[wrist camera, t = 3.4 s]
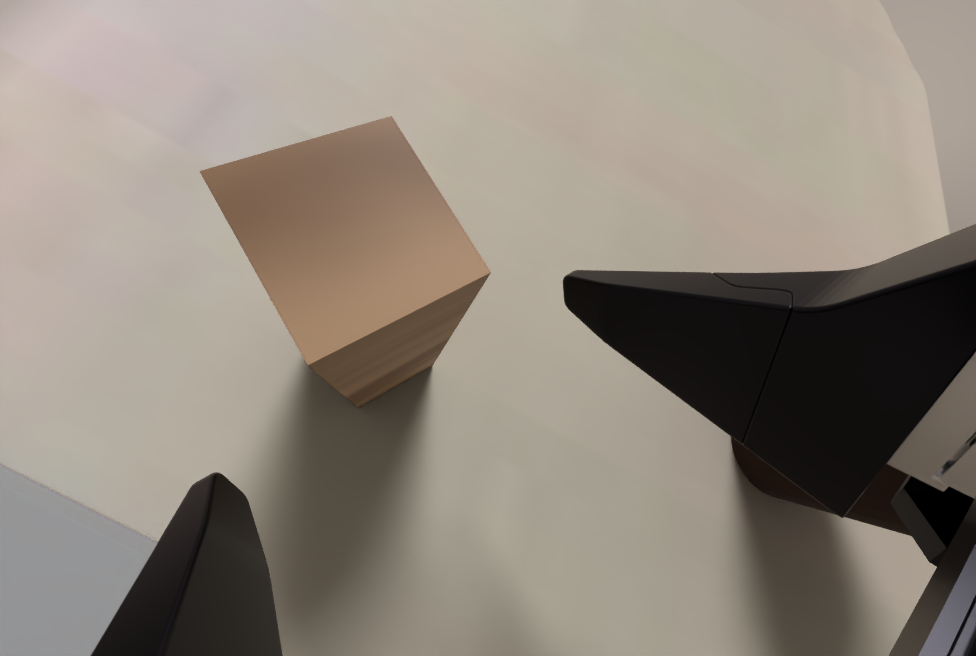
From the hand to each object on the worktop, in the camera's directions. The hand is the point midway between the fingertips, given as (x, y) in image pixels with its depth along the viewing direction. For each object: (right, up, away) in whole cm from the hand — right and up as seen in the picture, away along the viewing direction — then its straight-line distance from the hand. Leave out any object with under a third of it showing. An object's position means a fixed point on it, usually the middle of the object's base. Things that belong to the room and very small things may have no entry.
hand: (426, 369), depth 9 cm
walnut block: (-4, 0, +10) cm, 11 cm away
